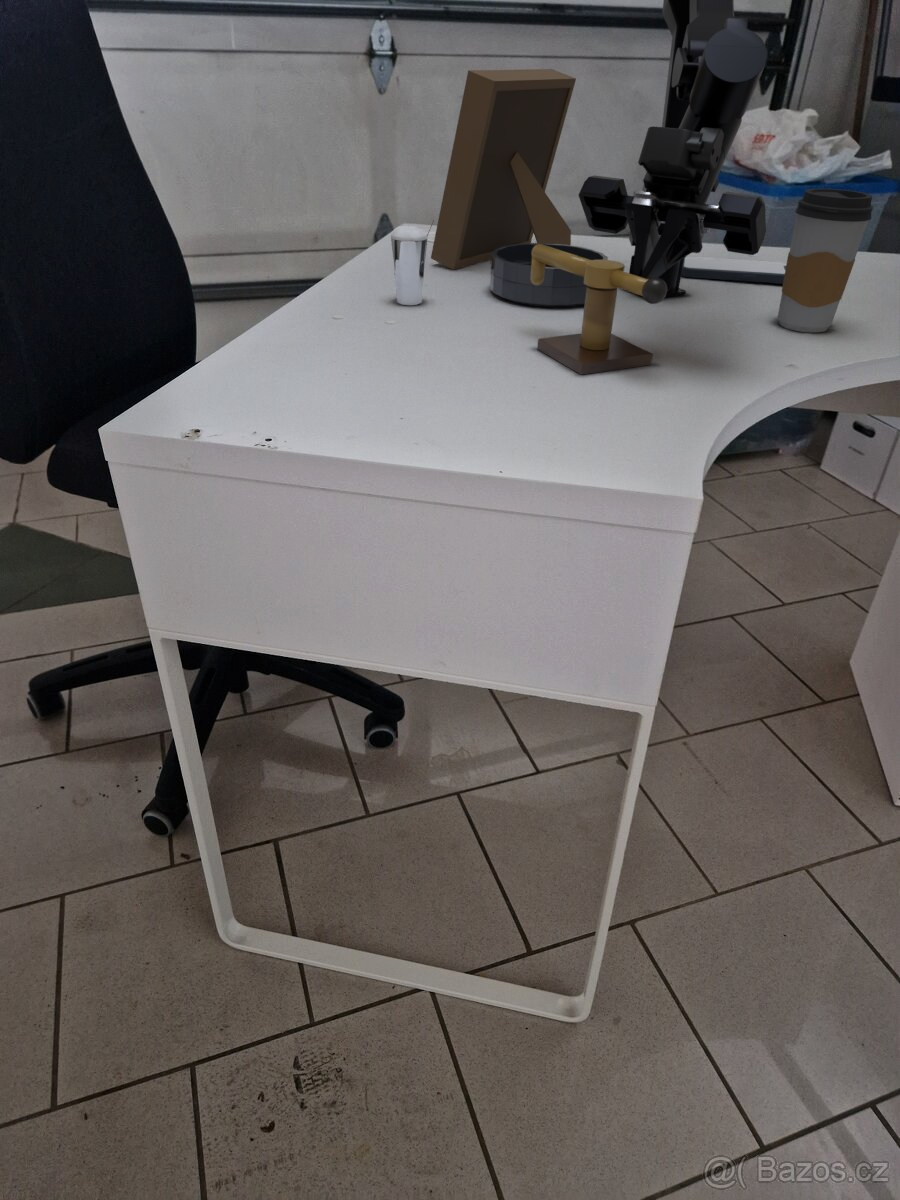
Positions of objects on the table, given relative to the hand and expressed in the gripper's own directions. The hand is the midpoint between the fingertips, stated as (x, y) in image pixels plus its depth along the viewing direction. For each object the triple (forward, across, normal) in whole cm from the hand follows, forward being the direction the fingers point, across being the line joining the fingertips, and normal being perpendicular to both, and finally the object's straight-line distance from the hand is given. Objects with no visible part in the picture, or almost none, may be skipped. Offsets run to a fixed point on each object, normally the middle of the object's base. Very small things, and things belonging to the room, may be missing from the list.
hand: (637, 286), depth 84 cm
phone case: (-28, -4, +41) cm, 50 cm away
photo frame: (-18, -35, +31) cm, 50 cm away
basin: (-9, -21, +21) cm, 31 cm away
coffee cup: (-14, +12, +26) cm, 32 cm away
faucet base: (+6, -4, +6) cm, 9 cm away
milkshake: (+2, -32, +10) cm, 34 cm away
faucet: (+1, -6, +3) cm, 7 cm away
